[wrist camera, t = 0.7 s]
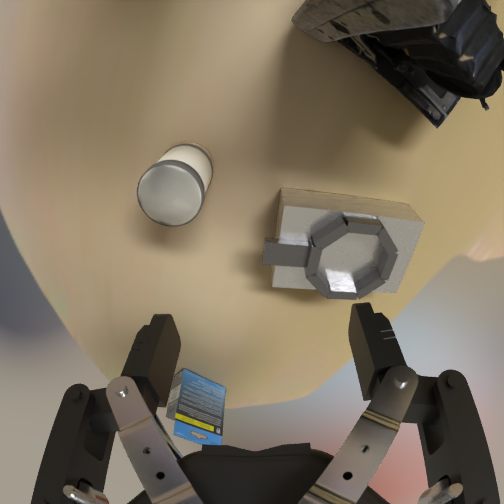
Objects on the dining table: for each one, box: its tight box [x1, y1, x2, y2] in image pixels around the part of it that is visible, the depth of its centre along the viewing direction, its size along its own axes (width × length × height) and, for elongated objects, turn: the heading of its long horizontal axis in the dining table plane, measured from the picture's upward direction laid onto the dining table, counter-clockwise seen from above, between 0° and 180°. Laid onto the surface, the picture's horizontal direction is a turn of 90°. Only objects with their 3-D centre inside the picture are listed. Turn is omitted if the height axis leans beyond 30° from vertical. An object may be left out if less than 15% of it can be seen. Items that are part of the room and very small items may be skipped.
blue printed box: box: [166, 369, 226, 445], centre depth 44 cm, size 9×4×12 cm, turn 49°
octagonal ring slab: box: [262, 188, 425, 300], centre depth 29 cm, size 9×15×6 cm, turn 86°
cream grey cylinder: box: [137, 142, 214, 226], centre depth 25 cm, size 5×5×7 cm
